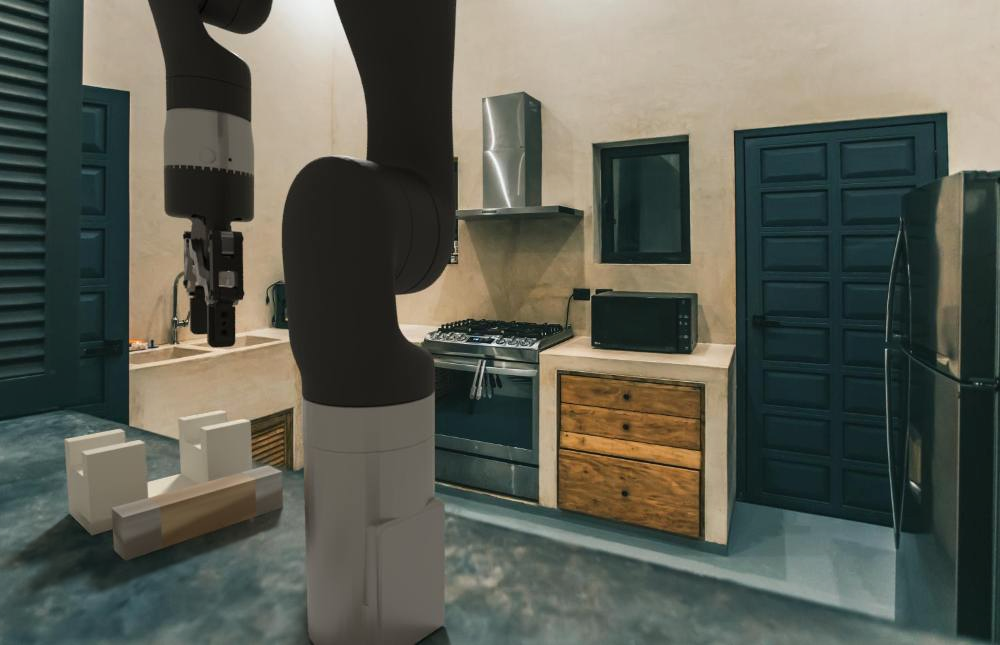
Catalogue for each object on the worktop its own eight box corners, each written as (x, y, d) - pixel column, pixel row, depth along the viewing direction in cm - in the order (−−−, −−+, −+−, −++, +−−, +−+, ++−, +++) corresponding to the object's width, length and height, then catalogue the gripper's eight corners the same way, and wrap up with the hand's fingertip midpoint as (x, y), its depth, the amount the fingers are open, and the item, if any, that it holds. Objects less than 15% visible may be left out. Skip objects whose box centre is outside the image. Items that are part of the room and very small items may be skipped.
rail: (283, 507, 62) (282, 471, 62) (125, 560, 50) (122, 517, 50) (269, 499, 64) (267, 465, 63) (114, 549, 52) (111, 508, 52)
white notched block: (252, 487, 67) (250, 421, 66) (91, 535, 55) (86, 455, 54) (223, 472, 72) (221, 410, 71) (69, 513, 60) (64, 439, 59)
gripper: (274, 166, 50) (273, 349, 52) (235, 178, 61) (235, 328, 63) (177, 153, 45) (179, 355, 47) (153, 169, 56) (156, 331, 58)
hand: (211, 339), depth 55 cm, fingers open, 8 cm apart
